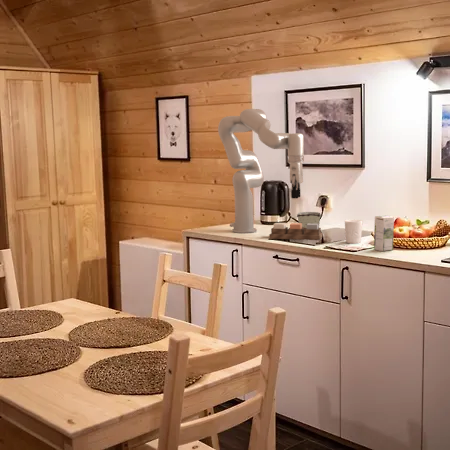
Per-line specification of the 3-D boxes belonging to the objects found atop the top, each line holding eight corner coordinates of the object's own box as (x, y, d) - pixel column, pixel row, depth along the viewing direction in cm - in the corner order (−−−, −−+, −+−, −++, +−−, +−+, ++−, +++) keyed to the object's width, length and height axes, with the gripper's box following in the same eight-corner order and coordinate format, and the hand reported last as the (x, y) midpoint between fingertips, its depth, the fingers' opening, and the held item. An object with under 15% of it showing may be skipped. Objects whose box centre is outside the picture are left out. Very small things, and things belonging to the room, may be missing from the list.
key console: (269, 238, 330) (269, 229, 329) (273, 235, 339) (273, 226, 339) (319, 239, 323) (319, 230, 322) (322, 236, 333) (322, 227, 332)
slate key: (306, 231, 327) (306, 224, 326) (308, 229, 331) (308, 223, 331) (317, 231, 325) (317, 224, 325) (318, 229, 330) (318, 223, 330)
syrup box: (384, 248, 296) (384, 215, 294) (393, 250, 290) (394, 216, 289) (373, 249, 293) (374, 215, 291) (383, 251, 288) (383, 217, 286)
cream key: (273, 230, 331) (273, 224, 331) (275, 228, 336) (275, 222, 335) (283, 230, 330) (283, 224, 329) (285, 229, 334) (285, 223, 334)
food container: (320, 231, 352) (320, 211, 351) (321, 232, 346) (321, 213, 345) (296, 231, 353) (296, 211, 352) (296, 233, 347) (296, 213, 346)
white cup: (344, 241, 318) (344, 219, 317) (362, 241, 317) (362, 219, 316) (344, 243, 310) (344, 221, 309) (362, 243, 309) (362, 221, 308)
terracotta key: (289, 230, 329) (289, 224, 329) (291, 229, 334) (291, 223, 333) (300, 230, 328) (300, 224, 327) (302, 229, 332) (302, 223, 332)
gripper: (300, 160, 317) (300, 199, 319) (306, 158, 333) (306, 196, 336) (284, 160, 319) (284, 199, 321) (291, 159, 335) (291, 196, 338)
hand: (295, 197), depth 329 cm, fingers open, 5 cm apart
